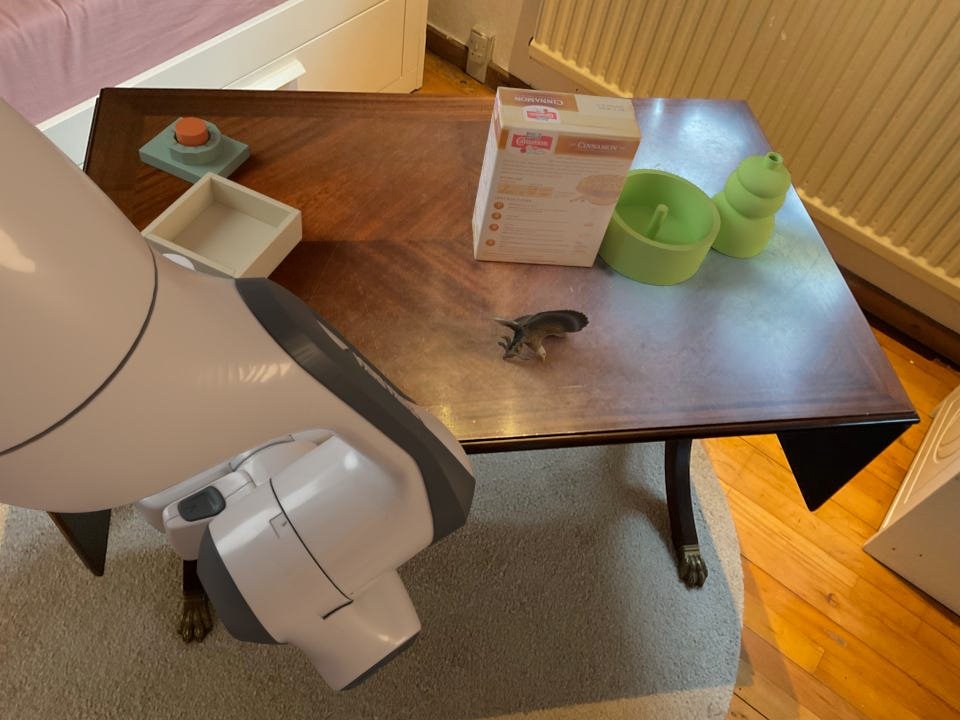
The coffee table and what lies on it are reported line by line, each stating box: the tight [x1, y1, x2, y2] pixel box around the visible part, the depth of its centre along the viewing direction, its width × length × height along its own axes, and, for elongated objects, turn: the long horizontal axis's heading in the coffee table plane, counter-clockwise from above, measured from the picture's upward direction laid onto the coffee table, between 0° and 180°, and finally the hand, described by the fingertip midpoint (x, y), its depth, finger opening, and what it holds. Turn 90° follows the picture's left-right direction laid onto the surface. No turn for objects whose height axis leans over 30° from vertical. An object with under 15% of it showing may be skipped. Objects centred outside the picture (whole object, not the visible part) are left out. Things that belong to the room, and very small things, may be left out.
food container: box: [597, 151, 792, 286], centre depth 92 cm, size 25×15×13 cm, turn 108°
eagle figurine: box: [493, 309, 590, 362], centre depth 80 cm, size 8×7×9 cm
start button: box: [175, 116, 209, 147], centre depth 89 cm, size 4×4×2 cm
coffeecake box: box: [471, 86, 643, 268], centre depth 85 cm, size 15×7×20 cm, turn 93°
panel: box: [138, 116, 251, 185], centre depth 91 cm, size 10×8×4 cm
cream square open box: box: [140, 172, 303, 280], centre depth 82 cm, size 12×12×4 cm
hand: (208, 369), depth 65 cm, fingers open, 8 cm apart
